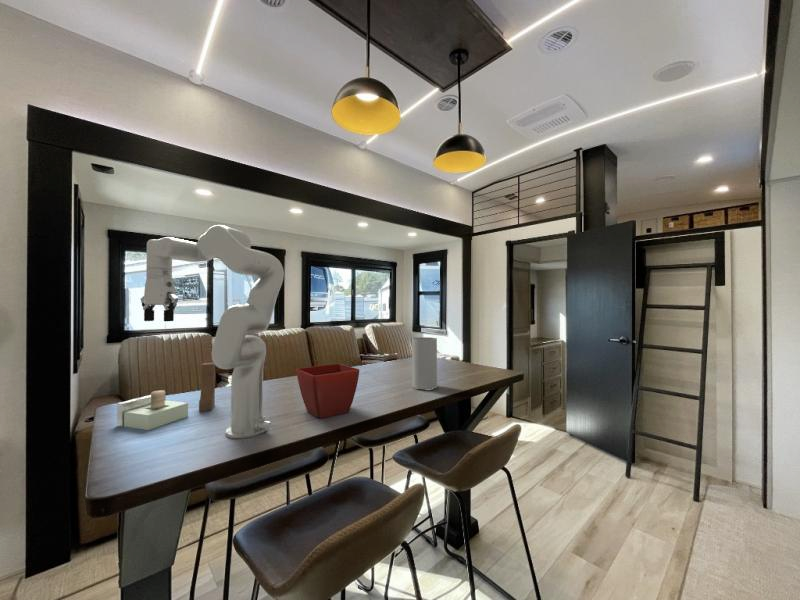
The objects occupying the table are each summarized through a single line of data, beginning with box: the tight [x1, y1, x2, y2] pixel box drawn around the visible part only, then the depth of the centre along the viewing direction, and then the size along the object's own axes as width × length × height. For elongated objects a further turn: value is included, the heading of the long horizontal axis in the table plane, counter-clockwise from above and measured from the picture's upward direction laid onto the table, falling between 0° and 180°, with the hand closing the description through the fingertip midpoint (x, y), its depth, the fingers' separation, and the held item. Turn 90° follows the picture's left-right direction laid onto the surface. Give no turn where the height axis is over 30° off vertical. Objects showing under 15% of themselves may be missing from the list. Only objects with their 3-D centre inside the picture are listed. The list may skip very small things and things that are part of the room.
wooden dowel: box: [150, 389, 166, 410], centre depth 117 cm, size 4×4×10 cm
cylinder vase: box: [411, 336, 438, 390], centre depth 165 cm, size 12×12×25 cm
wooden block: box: [198, 362, 216, 413], centre depth 132 cm, size 9×4×18 cm, turn 24°
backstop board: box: [116, 394, 151, 428], centre depth 119 cm, size 2×15×8 cm, turn 163°
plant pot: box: [295, 363, 360, 419], centre depth 128 cm, size 19×19×17 cm
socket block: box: [123, 400, 189, 431], centre depth 117 cm, size 12×14×5 cm
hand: (158, 321), depth 118 cm, fingers open, 9 cm apart
